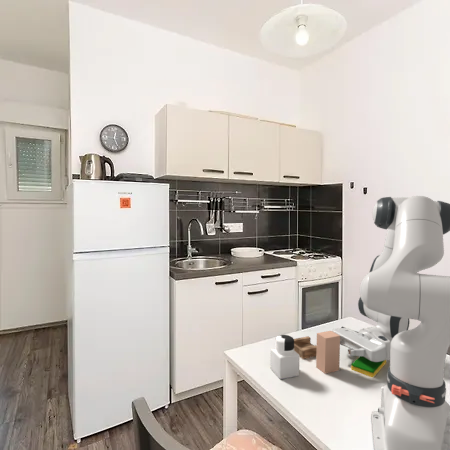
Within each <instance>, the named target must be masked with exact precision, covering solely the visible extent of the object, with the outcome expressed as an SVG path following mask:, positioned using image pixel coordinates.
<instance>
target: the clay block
mask: <svg viewBox="0 0 450 450" xmlns="http://www.w3.org/2000/svg"><path fill="white" fill-rule="evenodd" d="M316 345H317V350H316V356H315V357H316V359H315V361H316V362H315V363H316V364H315V368H316V369H318V370H319V371H320V372H322V373H323V374H325V375H327V374H330V373H335V372H338V371H340V360H341V359H340V358H341V356H340V354H341V353H340V352H341V350H340V349H341V344H340V335H338V334H336V333H334V332H332V330H326V331H322V332H317V333H316Z"/></svg>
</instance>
